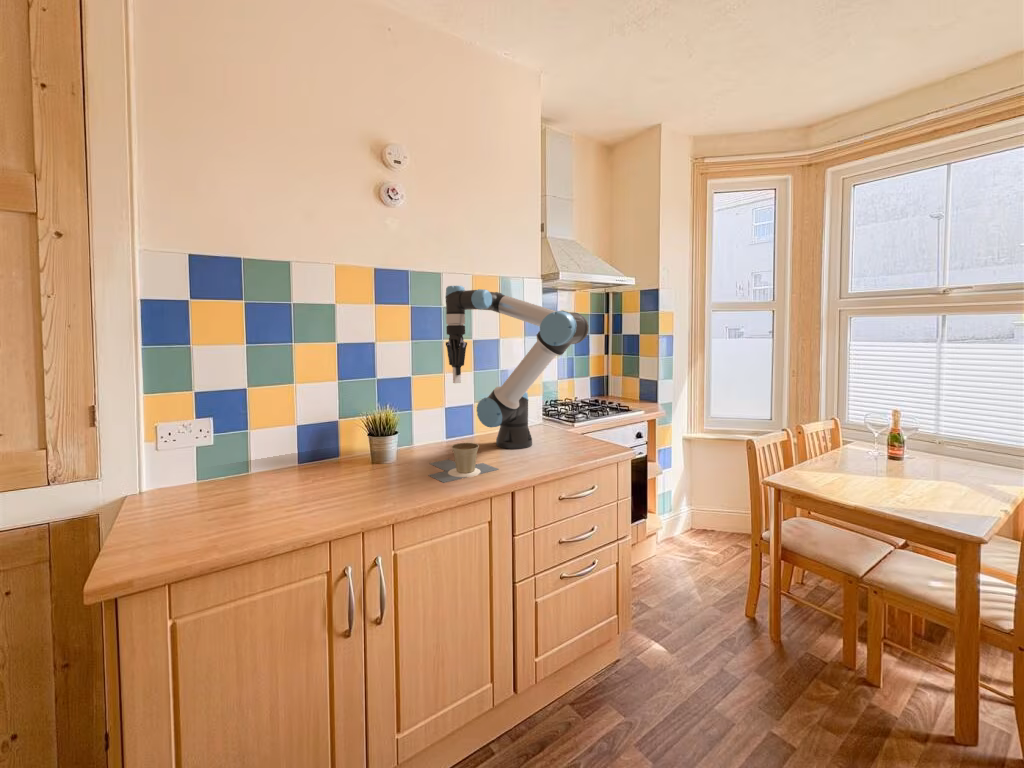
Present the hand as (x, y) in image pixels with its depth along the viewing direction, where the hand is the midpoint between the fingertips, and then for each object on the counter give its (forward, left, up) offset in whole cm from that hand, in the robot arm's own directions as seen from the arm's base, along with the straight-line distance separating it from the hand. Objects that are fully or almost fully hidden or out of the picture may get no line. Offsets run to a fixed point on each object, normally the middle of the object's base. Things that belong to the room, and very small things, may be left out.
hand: (456, 382), depth 190 cm
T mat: (+10, +30, -27) cm, 42 cm away
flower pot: (+8, +35, -26) cm, 45 cm away
